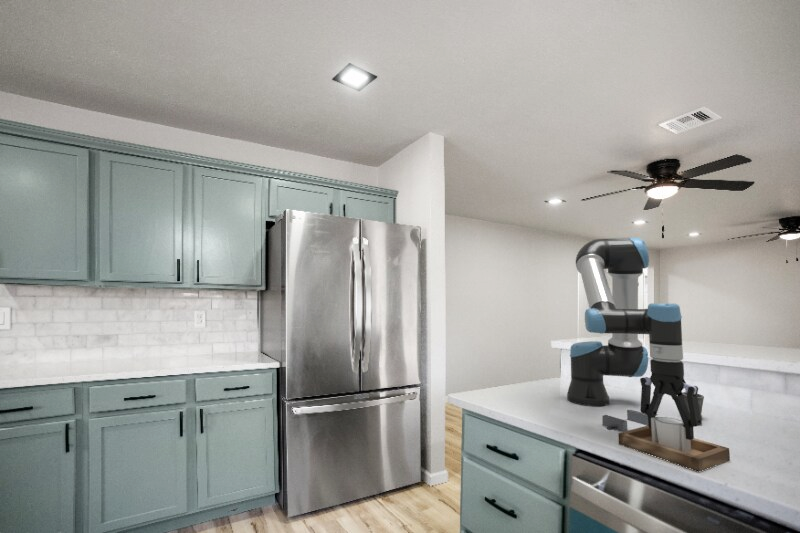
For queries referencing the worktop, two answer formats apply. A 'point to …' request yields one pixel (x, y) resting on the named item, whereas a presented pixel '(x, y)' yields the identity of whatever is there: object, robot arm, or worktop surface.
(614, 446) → the worktop surface
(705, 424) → the worktop surface
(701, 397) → the pipe
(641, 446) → the tray
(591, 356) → the robot arm
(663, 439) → the light grey cup
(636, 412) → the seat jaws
